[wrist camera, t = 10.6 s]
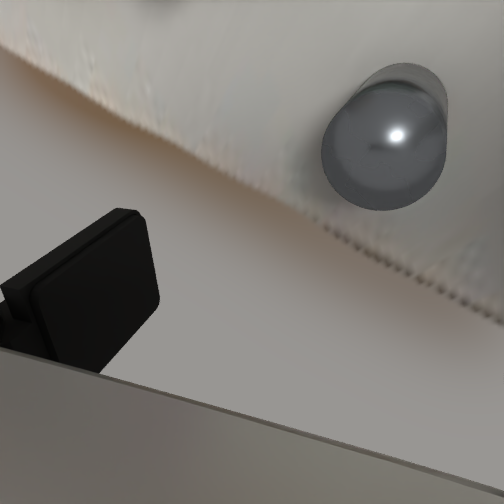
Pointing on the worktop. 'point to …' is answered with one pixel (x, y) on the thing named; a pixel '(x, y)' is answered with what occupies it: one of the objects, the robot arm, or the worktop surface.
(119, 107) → the worktop surface
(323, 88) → the worktop surface
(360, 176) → the metal cylinder
